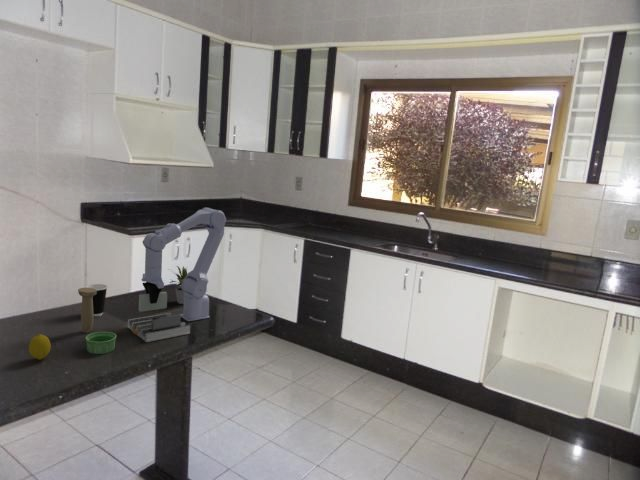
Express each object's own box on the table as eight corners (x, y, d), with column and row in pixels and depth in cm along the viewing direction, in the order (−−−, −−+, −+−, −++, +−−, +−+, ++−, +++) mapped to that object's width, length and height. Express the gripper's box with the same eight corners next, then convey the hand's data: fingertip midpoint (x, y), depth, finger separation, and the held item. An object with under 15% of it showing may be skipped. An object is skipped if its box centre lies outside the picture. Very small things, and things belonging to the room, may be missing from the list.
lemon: (35, 355, 142) (34, 330, 141) (54, 356, 142) (54, 331, 141) (25, 363, 136) (24, 337, 135) (45, 364, 137) (44, 338, 136)
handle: (86, 335, 159) (86, 293, 157) (75, 330, 163) (75, 289, 160) (99, 332, 164) (99, 290, 161) (87, 327, 167) (88, 286, 164)
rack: (169, 320, 181) (170, 302, 180) (189, 333, 169) (190, 315, 168) (127, 327, 170) (127, 309, 169) (145, 342, 158) (146, 322, 157)
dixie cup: (80, 316, 176) (80, 288, 174) (91, 310, 184) (91, 283, 182) (100, 318, 176) (101, 290, 174) (111, 312, 184) (111, 285, 182)
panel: (164, 306, 177) (165, 291, 176) (166, 308, 176) (167, 292, 175) (138, 310, 170) (138, 294, 169) (140, 311, 169) (140, 295, 168)
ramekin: (82, 355, 145) (82, 342, 144) (88, 344, 153) (88, 331, 153) (114, 354, 147) (114, 341, 147) (117, 343, 156) (118, 331, 155)
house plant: (157, 300, 203) (158, 263, 200) (184, 295, 214) (186, 260, 211) (176, 309, 194) (177, 270, 191) (203, 303, 205) (205, 266, 202)
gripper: (134, 262, 173) (133, 298, 175) (150, 272, 162) (149, 309, 165) (153, 261, 178) (152, 295, 180) (170, 270, 167) (168, 306, 169)
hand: (152, 302), depth 173 cm, fingers closed on panel, 2 cm apart
